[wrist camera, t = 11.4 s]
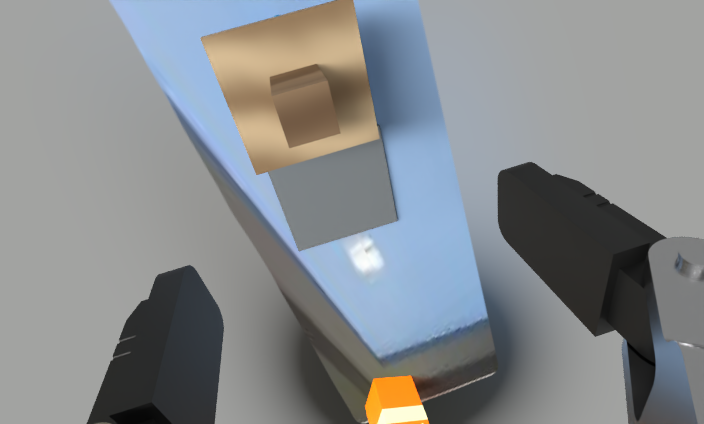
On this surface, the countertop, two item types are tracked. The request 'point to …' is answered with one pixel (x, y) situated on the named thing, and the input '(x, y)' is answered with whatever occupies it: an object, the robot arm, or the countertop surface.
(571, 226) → the robot arm
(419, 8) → the countertop surface
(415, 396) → the orange juice
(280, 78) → the oak lid
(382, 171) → the rubber mat
